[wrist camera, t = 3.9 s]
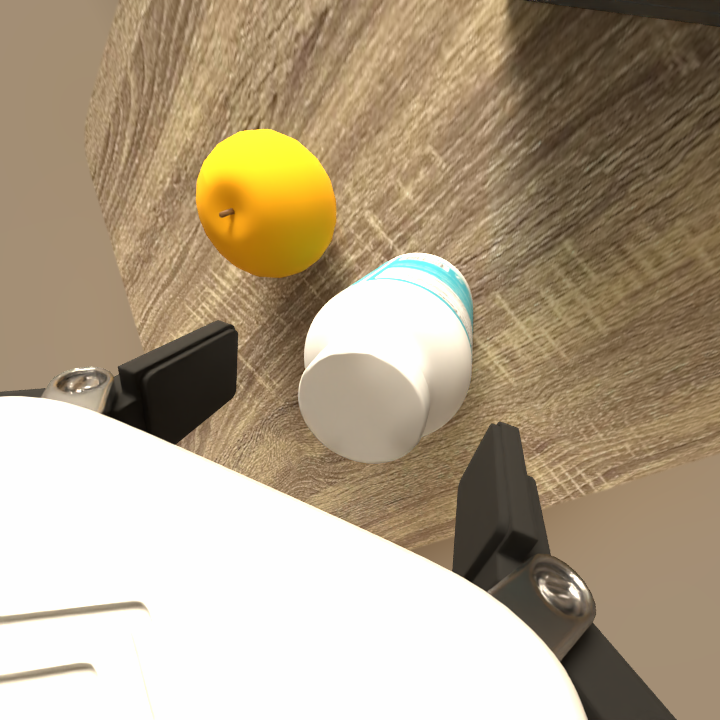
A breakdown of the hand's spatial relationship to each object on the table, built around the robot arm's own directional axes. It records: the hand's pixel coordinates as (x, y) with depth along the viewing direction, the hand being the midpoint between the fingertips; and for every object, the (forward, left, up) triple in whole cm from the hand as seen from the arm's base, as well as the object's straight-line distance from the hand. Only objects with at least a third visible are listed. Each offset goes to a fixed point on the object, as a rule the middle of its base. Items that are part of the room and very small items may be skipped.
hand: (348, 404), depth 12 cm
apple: (+10, -4, -14) cm, 17 cm away
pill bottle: (0, 0, -14) cm, 14 cm away
